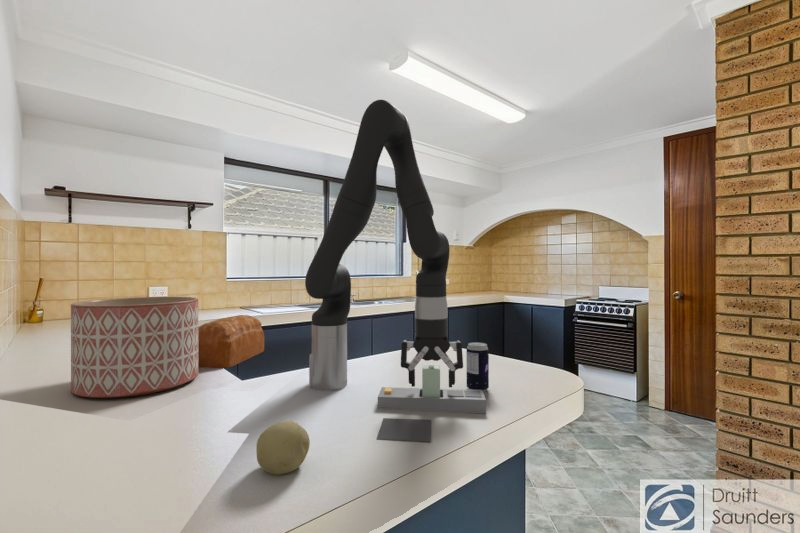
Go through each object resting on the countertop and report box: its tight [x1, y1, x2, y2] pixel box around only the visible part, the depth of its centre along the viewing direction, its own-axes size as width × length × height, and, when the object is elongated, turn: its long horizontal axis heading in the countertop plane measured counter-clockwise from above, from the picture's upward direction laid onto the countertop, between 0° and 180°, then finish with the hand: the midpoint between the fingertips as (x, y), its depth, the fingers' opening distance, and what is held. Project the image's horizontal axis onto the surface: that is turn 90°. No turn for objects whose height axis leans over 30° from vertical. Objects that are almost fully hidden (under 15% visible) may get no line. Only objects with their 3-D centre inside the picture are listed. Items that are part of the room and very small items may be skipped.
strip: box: [377, 386, 487, 414], centre depth 90 cm, size 24×7×4 cm, turn 85°
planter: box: [70, 296, 199, 399], centre depth 102 cm, size 27×27×24 cm
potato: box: [255, 420, 311, 476], centre depth 61 cm, size 8×8×8 cm
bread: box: [198, 314, 265, 369], centre depth 131 cm, size 14×26×16 cm, turn 173°
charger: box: [421, 364, 441, 397], centre depth 90 cm, size 4×4×8 cm
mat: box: [376, 417, 432, 444], centre depth 77 cm, size 10×10×1 cm
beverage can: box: [466, 341, 490, 393], centre depth 102 cm, size 6×6×12 cm
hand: (431, 386), depth 90 cm, fingers open, 8 cm apart
